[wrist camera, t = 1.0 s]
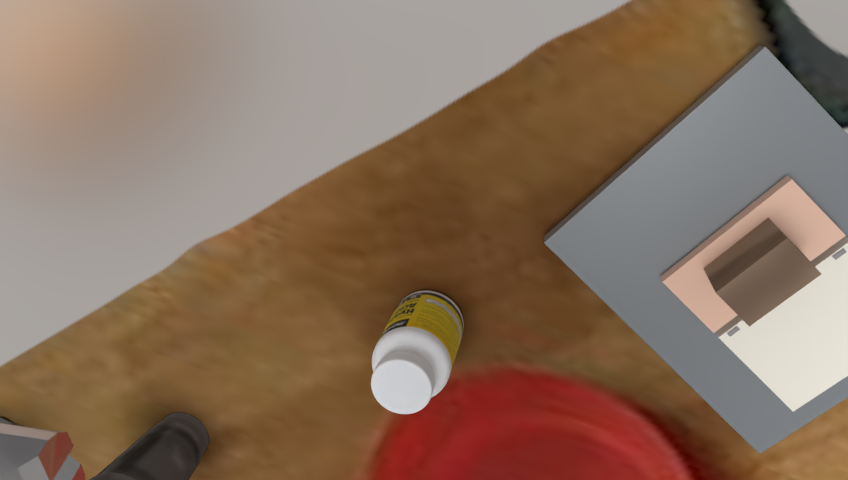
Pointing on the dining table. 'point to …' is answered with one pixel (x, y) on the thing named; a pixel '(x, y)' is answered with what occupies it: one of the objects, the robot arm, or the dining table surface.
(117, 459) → the beverage cup
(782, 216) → the brown and pink block
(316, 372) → the dining table surface
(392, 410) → the supplement bottle
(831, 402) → the board
